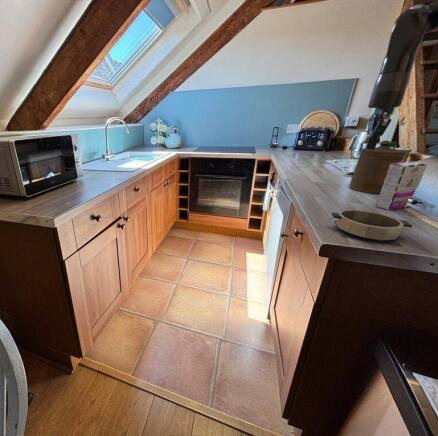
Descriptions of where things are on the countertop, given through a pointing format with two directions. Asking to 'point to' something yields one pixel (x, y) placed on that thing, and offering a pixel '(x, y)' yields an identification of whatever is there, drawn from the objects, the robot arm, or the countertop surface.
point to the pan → (369, 224)
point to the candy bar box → (400, 184)
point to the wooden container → (374, 167)
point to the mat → (344, 234)
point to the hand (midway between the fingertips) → (369, 149)
